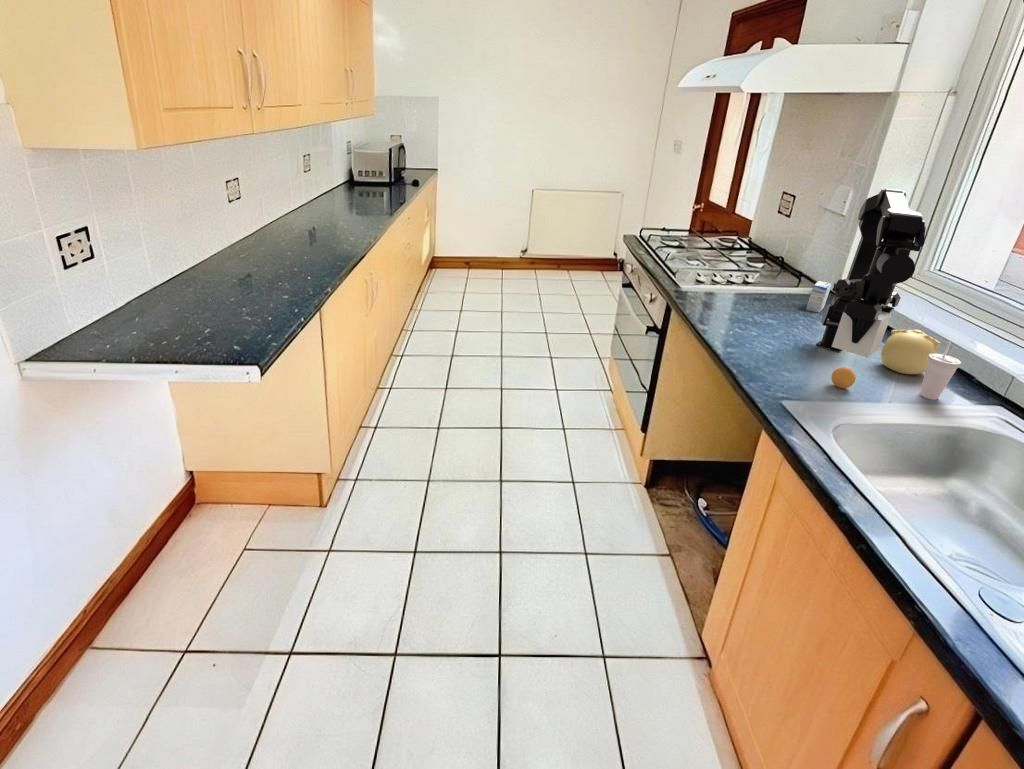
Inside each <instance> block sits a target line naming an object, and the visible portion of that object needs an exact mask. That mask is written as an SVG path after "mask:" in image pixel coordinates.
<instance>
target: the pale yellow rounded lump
mask: <svg viewBox="0 0 1024 769" xmlns="http://www.w3.org/2000/svg"><path fill="white" fill-rule="evenodd" d="M890 334H891V335H890V336H889V337H888V338H887V340H886V341H885V342H884V344H883V346H882V348H881V352H880V353H881V354H880V358H881V362H882V364H883V365H884V366H885V367H886V368H888V369H890V370H892V371H893V372H896V373H900V374H904V375H919V374H923V373H925V371H926V367H927V363H928V359H927V358H928V356H929V354H933V353H937V354H938V348H939V347H940V346H941V344H942V343H941V341H939V340H937V339H935V338H934V337H933V336H931V335H928V334H926V333H925V332H924V331H922V330H920V329H892V330H891V331H890Z"/></svg>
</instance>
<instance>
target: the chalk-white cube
mask: <svg viewBox="0 0 1024 769" xmlns="http://www.w3.org/2000/svg"><path fill="white" fill-rule="evenodd" d="M891 317H892V312H891V313H887V312H883V311H881V313H880V315H879V316H878V318H879V319H878V320H877V321H876V322H875V324H874V325H873V326H872V327H871V328H870V329H869V330H868V332H867V333H866V334H865V335H864V336H863V337H862V339H861V340H860V341H859V342H858V343H857V344H856V343H852V320H851V318H850V317H849V316H848V315H847V314H846V313H844V312H843V314H842V317H841V320H840V323H839V326H838V329H837V332H836V335H835V338H834V341H833V344H832V347H834V348H838V349H841V350H843V351H845V352H847V353H848V352H849V353H850V354H854V355H858V356H861V357H864V358H870V357H871V356H872V355H873V354H875V353H876V352H877V351H879V348H880V346H881V343H882V341H883V338H884V335H885V333H886V330H887V328H888V325H889V323H890V320H891Z"/></svg>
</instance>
